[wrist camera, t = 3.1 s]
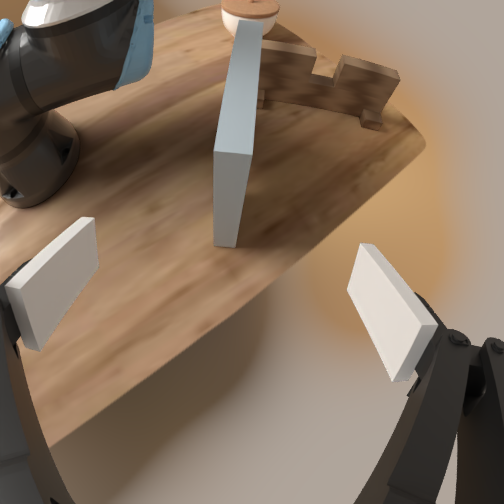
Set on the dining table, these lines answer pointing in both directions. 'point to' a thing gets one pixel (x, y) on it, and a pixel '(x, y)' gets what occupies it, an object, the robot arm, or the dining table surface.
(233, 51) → the slotted plate
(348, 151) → the dining table surface
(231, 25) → the lidded jar
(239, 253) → the dining table surface
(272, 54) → the walnut board
